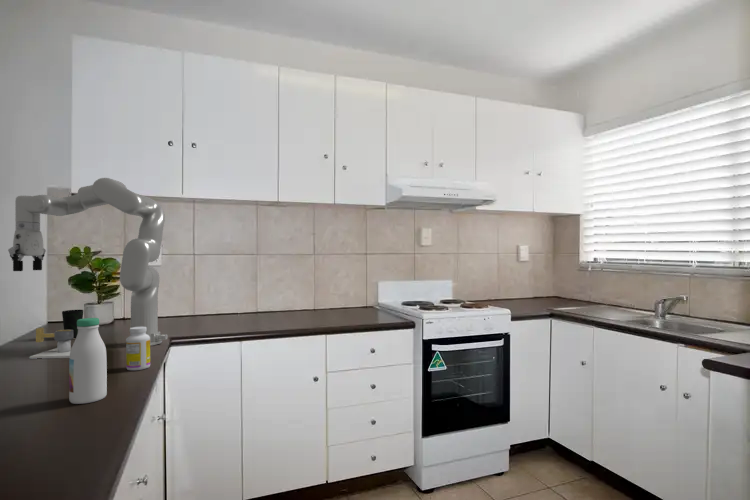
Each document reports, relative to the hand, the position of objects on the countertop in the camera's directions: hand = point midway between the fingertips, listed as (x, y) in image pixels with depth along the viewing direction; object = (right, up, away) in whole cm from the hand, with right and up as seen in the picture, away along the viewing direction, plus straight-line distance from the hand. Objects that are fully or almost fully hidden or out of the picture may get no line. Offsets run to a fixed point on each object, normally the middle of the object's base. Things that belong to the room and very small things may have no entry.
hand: (28, 270), depth 165 cm
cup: (+5, -31, +18) cm, 36 cm away
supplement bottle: (+62, -30, -33) cm, 76 cm away
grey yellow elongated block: (+19, -25, -12) cm, 34 cm away
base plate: (+23, -30, -11) cm, 39 cm away
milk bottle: (+66, -29, -61) cm, 94 cm away
